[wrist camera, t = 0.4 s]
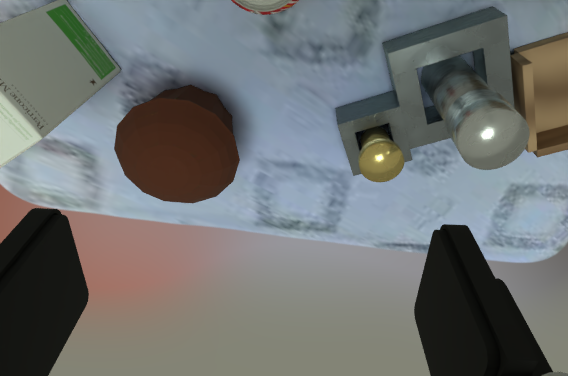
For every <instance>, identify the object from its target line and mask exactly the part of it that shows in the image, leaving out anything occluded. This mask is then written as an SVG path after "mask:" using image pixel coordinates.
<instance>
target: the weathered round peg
mask: <svg viewBox="0 0 568 376" xmlns="http://www.w3.org/2000/svg"><path fill="white" fill-rule="evenodd" d="M421 83H422V86H423V88H424V89H425V91H426V93H427V94H428V96H429V98H430V99H431V101H432V102H433V104H434V106H435V107H436V109H437V111H438V112H439V114H440V116H441V117H442V119H443V121H444V122H445V125H446V130H447V132H448V134H449V136H450V137H451V139H452V141H453V142H454V144H455V146H456V147H457V149H458V151H459V153H460V154H461V156H462V158H463V159H464V160H465V162H466V163H468V164H469V165H470V166H472V167H474V168H477V169H483V170H491V169H497V168H500V167H503V166H505V165H507V164H509V163H511V162H512V161H514V160H515V159H516V158H517V157H518V156H519V155H520V154H521V153H522V152H523V151H524V149H525V148H526V146H527V143H528V140H529V134H530V131H529V126H528V124H527V122H526V120H525V119H524V118H523V117H522V116H521V115H520V114H519V113H518V112H517V111H516V110H515V109H514V108H513V107H512V106H511V105H510V103H509V102H508V101H507V100H506V99H505V98H504V97H503V96H502V95H501V94H499V93H498V92H496V91H493V90H492V89H491V88H490V87H489V86H488V85H487V84H486V83H485V81H484V80H483V79H482V78H481V77H480V76H479V75H478V74H477V73H476V72H475V71H474V70H473V69H472V68H471V67H470V66H469V65H468V64H467V62H466V61H465V60H464V59H463V58H462V57H461V56H459V55H458V56H455V57H452V58H448V59H445V60H442V61H439V62H436V63H432V64H429V65H426V66H424V68H423V71H422V74H421Z"/></svg>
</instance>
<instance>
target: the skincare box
mask: <svg viewBox="0 0 568 376" xmlns="http://www.w3.org/2000/svg"><path fill="white" fill-rule="evenodd" d="M120 71H121V70H120V68H119V66H118V65H117V64H116V63H115V61H114V60H113V59H112V58H111V57H110V55H109V54H108V52H107V51H106V50H105V48H104V47H103V46H102V45H101V43H100V42H99V41H98V40H97V38H96V37H95V36H94V35H93V34H92V32H91V31H90V30H89V28H88V27H87V26H86V25H85V23H84V22H83V21H82V20H81V18H80V17H79V16H78V15H77V13H76V12H75V11H74V9H73V8H72V7H71V6H70V4H69V3H68V2H67V0H57V1H55V2H52V3H49V4H47V5H44V6H42V7H40V8H37V9H35V10H32V11H30V12H27V13H24V14H22V15H20V16H17V17H15V18H12V19H9V20H7V21H4V22H2V23H0V168H1V167H3V166H4V165H6V164H7V163H8V162H10V161H11V160H13V159H14V158H16V157H17V156H18V155H20V154H21V153H23V152H24V151H26V150H27V149H29V148H30V147H31V146H33V145H34V144H36V143H37V142H39V141H40V140H41V139H42V138H44V137H45V136H46V135H47V134H48V133H50V132H51V131H52V130H53V129H54V128H55V127H57V126H58V125H59V124H60V123H61V122H62V121H64V120H65V119H66V118H67V117H68V116H69V115H71V114H72V113H73V112H74V111H75V110H76V109H78V108H79V107H80V106H81V105H82V104H83V103H85V102H86V101H87V100H88V99H89V98H90V97H92V96H93V95H94V94H95V93H96V92H97V91H99V90H100V89H101V88H102V87H103V86H104V85H105V84H107V83H108V82H109V81H110V80H111V79H112V78H114V77H115V76H116V75H117V74H118V73H119V72H120Z"/></svg>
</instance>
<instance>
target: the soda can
mask: <svg viewBox="0 0 568 376" xmlns="http://www.w3.org/2000/svg"><path fill="white" fill-rule="evenodd" d="M231 1H232V2H233V3H235V4H236V5H237V6H239V7H240V8H242V9H244V10H246V11H249V12H252V13H255V14H262V15H266V14H275V13H279V12H282V11H284V10H286V9H288V8H290V7H292V6H293V5H294V4H295V3H297V2H298V1H299V0H231Z"/></svg>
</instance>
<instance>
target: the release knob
mask: <svg viewBox="0 0 568 376" xmlns="http://www.w3.org/2000/svg"><path fill="white" fill-rule="evenodd" d="M360 141H361V146H362V149H361V151H360V153H359V156H358V163H359V168H360V171H361V173H362V174H363V176H364V177H365V178H367V179H368V180H371V181H374V182H385V181H389V180H391V179H393V178H395V177H396V176H397V175H398V174H399V173H400V172H401V170H402V168H403V166H404V157H403V154H402V151H401V149H400V147H399V146H398V145H397V144H396V143H395V142H394V141H392V140H390V137H389V134H388V132H387V131H386V130H385V129H384V128H382V127H379V126H376V127H373V128H369V129H366V130H365V131H364V132H363V133H362V135H361V139H360Z"/></svg>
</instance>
